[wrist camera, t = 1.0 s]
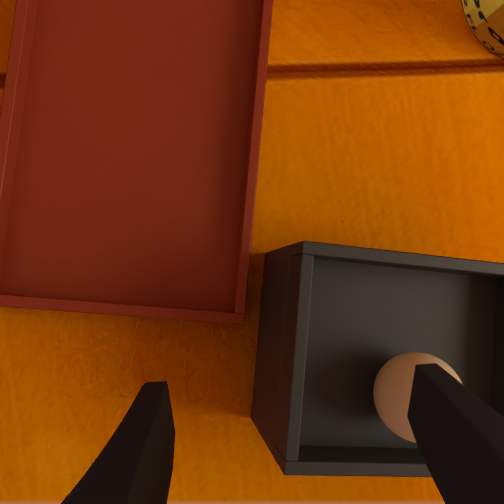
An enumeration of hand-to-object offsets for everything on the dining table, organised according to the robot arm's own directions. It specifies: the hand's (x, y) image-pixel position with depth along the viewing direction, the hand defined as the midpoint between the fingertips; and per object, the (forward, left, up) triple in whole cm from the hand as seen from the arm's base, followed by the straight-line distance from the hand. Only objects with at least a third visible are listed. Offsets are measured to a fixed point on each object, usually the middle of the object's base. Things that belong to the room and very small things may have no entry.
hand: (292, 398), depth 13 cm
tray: (+23, -7, -14) cm, 28 cm away
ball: (-5, -6, -6) cm, 10 cm away
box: (-4, -7, -14) cm, 16 cm away
